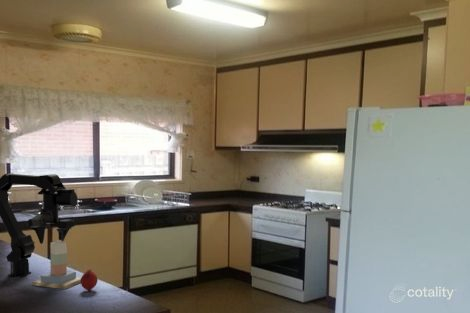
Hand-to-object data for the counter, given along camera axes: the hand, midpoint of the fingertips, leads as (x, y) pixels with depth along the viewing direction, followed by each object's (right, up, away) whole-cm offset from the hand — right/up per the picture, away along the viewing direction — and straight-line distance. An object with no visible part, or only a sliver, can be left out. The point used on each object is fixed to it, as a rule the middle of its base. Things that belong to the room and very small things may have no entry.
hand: (50, 244), depth 188 cm
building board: (+6, -13, -9) cm, 17 cm away
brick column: (+6, -10, -9) cm, 15 cm away
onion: (+21, -14, -18) cm, 31 cm away
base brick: (+6, -12, -9) cm, 16 cm away
